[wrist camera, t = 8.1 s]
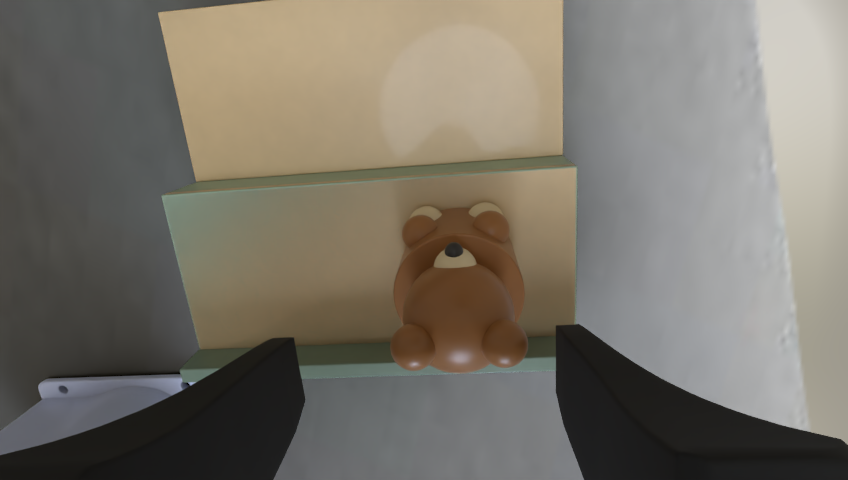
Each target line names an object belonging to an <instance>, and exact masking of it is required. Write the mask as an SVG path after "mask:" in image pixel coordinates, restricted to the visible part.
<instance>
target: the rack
mask: <svg viewBox="0 0 848 480" xmlns="http://www.w3.org/2000/svg"><path fill="white" fill-rule="evenodd" d="M158 15H159V19H160V24H161V28H162V33H163V37H164V42H165V46H166V50H167V55H168V59H169V64H170V68H171V72H172V77H173V81H174V86H175V90H176V95H177V99H178V103H179V108H180V112H181V117H182V121H183V126H184V130H185V134H186V139H187V143H188V148H189V152H190V157H191V161H192V165H193V170H194V174H195V179H196V183H193V184H191V185H188V186H185V187H183V188H180V189H177V190H174V191H172V192H169V193H166V194H163V195H162V200H163V204H164V208H165V212H166V216H167V220H168V224H169V228H170V232H171V237H172V241H173V245H174V249H175V253H176V257H177V261H178V265H179V269H180V273H181V277H182V281H183V285H184V289H185V293H186V297H187V301H188V305H189V309H190V313H191V317H192V321H193V325H194V329H195V333H196V337H197V341H198V345H199V349H200V350H198V351H197V352H196V353H195V354H194V355H193V356H192V357H191V358H190V359H189V360H188V361H187V363H186V364H185V365H184V366H183V367H182V368H181V369H180V374H181V378H182V381H183V382H184V383H187V382H198V381H199V380H201V379H203V378H205V377H207V376H208V375H210V374H212V373H214V372H215V371H217V370H219V369H220V368H222V367H224V366H225V365H227V364H228V363H230V362H232V361H233V360H235V359H237V358H238V357H240V356H241V355H243V354H245V353H246V352H248V351H250V350H251V349H253V348H255V347H256V346H258V345H260V344H262V343H263V342H265V341H267V340H269V339H272V338H284V337H294V341H295V347H296V352H297V357H298V363H299V368H300V374H301V379H313V378H345V377H376V376H408V375H439V374H471V373H502V372H534V371H556V325H575V324H576V266H577V172H578V167H577V166H576V165H575V164H573V163H572V162H571V161H569V160H568V159H566V158H565V157H563V156H562V155H563V0H267V1H258V2H249V3H240V4H230V5H221V6H212V7H203V8H193V9H184V10H175V11H166V12H159V13H158ZM483 202H488V203H492V204H494V205H496V206H497V207H498V208H499V209H500V210H501V211H502V213H503V215H504V217H505V218H506V219H507V221H508V223H509V228H510V231H509V236H508V237H509V238H510V241H511V243H512V246H513V249H514V252H515V256H516V259H517V262H518V265H519V268H520V271H521V274H522V278H523V282H524V288H525V300H524V306H523V310H522V313H521V315H520V317H519V319H518V321H517V324H518V325H519V326H521V327H522V329H523V330H524V332H525V333H526V336H527V339H528V350H527V353H526V355H525V357H524V359H523V360H522V361H521V362H520V363H519V364H517V365H515V366H513V367H509V368H500V367H497V366H494V365H493V364H489V365H488V366H486V367H484V368H482V369H480V370H477V371H474V372H470V373H449V372H444V371H441V370H438V369H436V368H434V367H432V366H430V365H428V366H427V367H425V368H424V369H421V370H418V371H410V370H406V369H403V368H402V367H400V366H399V365H398V364H397V363H396V362H395V361H394V359H393V357H392V355H391V350H390V344H391V340H392V337H393V335H394V333H395V332H396V331H397V330H398V329H399V328H400V327H402V326H403V323H402V322H401V320H400V318H399V316H398V314H397V311H396V308H395V303H394V295H393V289H394V281H395V277H396V274H397V271H398V268H399V265H400V262H401V259H402V256H403V253H404V251H405V248H406V245H405V243H404V241H403V238H402V229H403V226H404V224H405V223H406V221H407V220H408V219H409V218H410V216H411V214H412V213H413V212H414V211H415V210H416V209H418V208H420V207H423V206H431V207H434V208H436V209H438V210H439V211H441V210H445V209H450V208H469V209H471V208H472V207H473V206H475V205H476V204H479V203H483Z"/></svg>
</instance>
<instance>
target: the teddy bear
mask: <svg viewBox="0 0 848 480" xmlns="http://www.w3.org/2000/svg"><path fill="white" fill-rule="evenodd" d="M509 231H510V228H509V223H508V221H507V219H506V218H505V217H504V215H503V213H502V211H501V210H500V209H499V208H498V207H497V206H496V205H494V204H492V203H488V202H483V203H479V204H476V205H475V206H473V207H472V208H471V209H469V208H450V209H445V210H441V211H439V210H438V209H436V208H434V207H431V206H423V207H420V208H418V209H416V210H415V211H414V212H413V213H412V214H411V216H410V218H409V219H408V220H407V221H406V223H405V224H404V226H403V229H402V238H403V241H404V243H405V245H406V248H405V251H404V253H403V256H402V259H401V262H400V265H399V268H398V271H397V274H396V277H395V281H394V289H393V295H394V303H395V308H396V311H397V314H398V316H399V318H400V320H401V322H402V323H403V326H402V327H400V328H399V329H398V330H397V331H396V332H395V333H394V335H393V337H392V340H391V344H390V350H391V355H392V357H393V359H394V361H395V362H396V363H397V364H398V365H399V366H400V367H402V368H403V369H406V370H410V371H418V370H421V369H424V368H425V367H427V366H428V365H430V366H432V367H434V368H436V369H438V370H441V371H444V372H449V373H470V372H474V371H477V370H480V369H482V368H484V367H486V366H488V365H489V364H493V365H494V366H497V367H500V368H509V367H513V366H515V365H517V364H519V363H520V362H521V361H522V360H523V359H524V357H525V355H526V353H527V350H528V339H527V336H526V333H525V332H524V330H523V329H522V327H521V326H519V325H518V324H517V321H518V319H519V317H520V315H521V313H522V310H523V306H524V300H525V288H524V282H523V278H522V274H521V271H520V268H519V265H518V262H517V259H516V256H515V252H514V249H513V246H512V243H511V241H510V238H509V237H508V236H509Z"/></svg>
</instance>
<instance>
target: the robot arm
mask: <svg viewBox="0 0 848 480" xmlns="http://www.w3.org/2000/svg"><path fill="white" fill-rule="evenodd" d="M188 383H189V384H190V386H189V385H187V384H186V383H184V382H183V381H182V378H181V374H169V375H139V376H110V377H80V378H50V379H45V380H44V381H42V382H41V383H40V384H39V386H38V389H39V392H40V395H41V398H42V400H41V401H39V402H38V403H37V404H35V405H34V406H33V407H31V408H30V409H29V410H27V411H26V412H25V413H23V414H22V415H21V416H19V417H18V418H17V419H15V420H14V421H13V422H11V423H10V424H9V425H7V426H6V427H5V428H3V429H2V430H1V431H0V480H273V479H274V477H275V475H276V473H277V470H278V468H279V466H280V464H281V462H282V460H283V458H284V456H285V454H286V452H287V449H288V447H289V445H290V443H291V441H292V439H293V436H294V434H295V432H296V429H297V426H298V423H299V420H300V417H301V413H302V410H303V406H304V403H305V395H304V390H303V385H302V379H301V374H300V368H299V363H298V357H297V352H296V347H295V341H294V337H284V338H272V339H269V340H267V341H265V342H263V343H262V344H260V345H258V346H256V347H255V348H253V349H251V350H250V351H248V352H246V353H245V354H243V355H241V356H240V357H238V358H237V359H235V360H233V361H232V362H230V363H228V364H227V365H225V366H224V367H222V368H220V369H219V370H217V371H215V372H214V373H212V374H210V375H208V376H207V377H205V378H203V379H201V380H199V381H198V382H188ZM66 387H67V388H66ZM556 394H557V398H558V403H559V407H560V411H561V415H562V420H563V424H564V427H565V430H566V432H567V435H568V438H569V440H570V443H571V446H572V448H573V451H574V454H575V456H576V459H577V462H578V464H579V467H580V470H581V472H582V475H583V477H584V480H848V445H847V444H846V443H845V442H844V441H842V440H841V439H837V438H833V437H828V436H824V435H820V434H815V433H811V432H807V431H803V430H798V429H794V428H790V427H786V426H782V425H778V424H775V423H772V422H768V421H765V420H762V419H758V418H755V417H752V416H749V415H746V414H743V413H740V412H737V411H734V410H731V409H728V408H726V407H723V406H721V405H718V404H715V403H713V402H710V401H708V400H705V399H703V398H700V397H698V396H696V395H694V394H691V393H689V392H687V391H685V390H683V389H681V388H679V387H677V386H675V385H673V384H671V383H669V382H667V381H665V380H663V379H661V378H659V377H657V376H655V375H654V374H652V373H650V372H649V371H647V370H645V369H644V368H642V367H640V366H639V365H637V364H635V363H634V362H632V361H631V360H629V359H628V358H626V357H625V356H623V355H622V354H620V353H619V352H617V351H616V350H614V349H613V348H612V347H610V346H609V345H607V344H606V343H605V342H603V341H602V340H601V339H599V338H598V337H596V336H595V335H594V334H592V333H591V332H590V331H588V330H587V329H586V328H584V327H583V326H581V325H579V324H575V325H556Z"/></svg>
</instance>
